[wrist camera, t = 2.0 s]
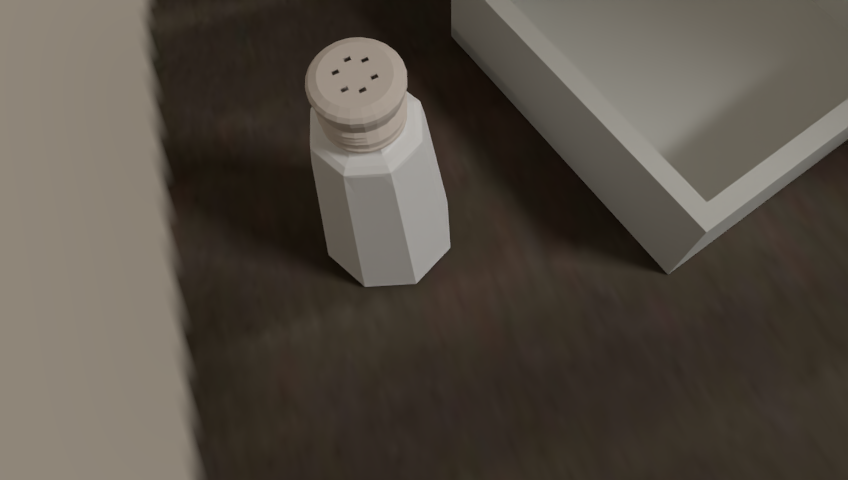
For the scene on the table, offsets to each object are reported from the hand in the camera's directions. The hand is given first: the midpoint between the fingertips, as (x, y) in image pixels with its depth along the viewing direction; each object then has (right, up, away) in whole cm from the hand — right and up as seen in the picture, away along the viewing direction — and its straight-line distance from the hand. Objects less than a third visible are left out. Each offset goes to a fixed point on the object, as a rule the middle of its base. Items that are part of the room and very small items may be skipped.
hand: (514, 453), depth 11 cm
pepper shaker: (-3, +4, +18) cm, 19 cm away
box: (+10, +12, +20) cm, 25 cm away
